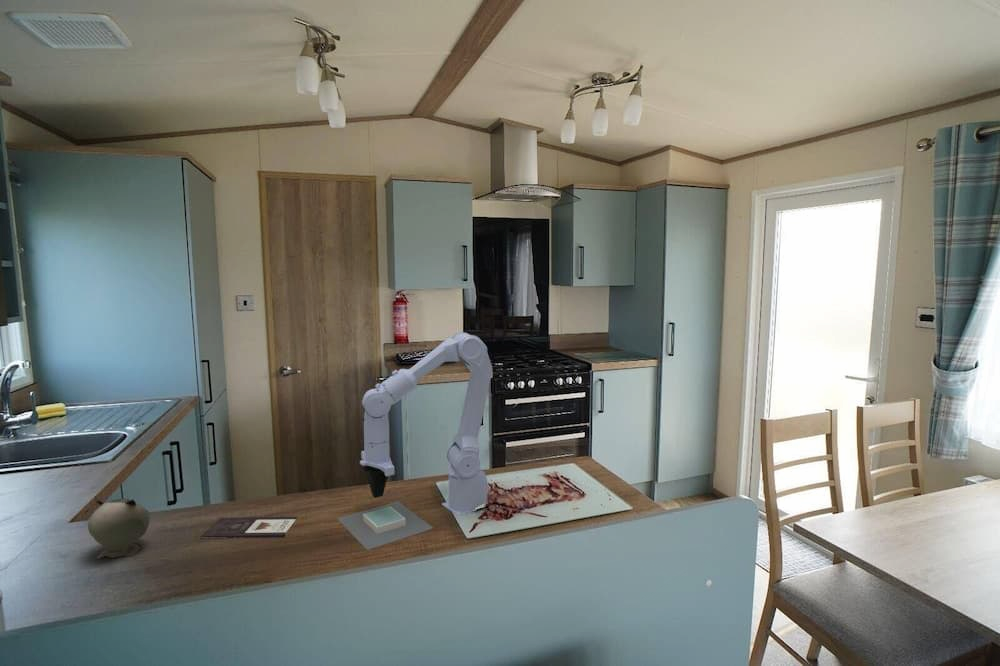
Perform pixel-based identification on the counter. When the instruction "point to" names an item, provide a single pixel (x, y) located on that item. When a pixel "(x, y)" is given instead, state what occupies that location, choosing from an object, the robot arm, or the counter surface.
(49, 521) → the counter surface
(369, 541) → the mat
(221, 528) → the chocolate bar
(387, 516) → the tile
